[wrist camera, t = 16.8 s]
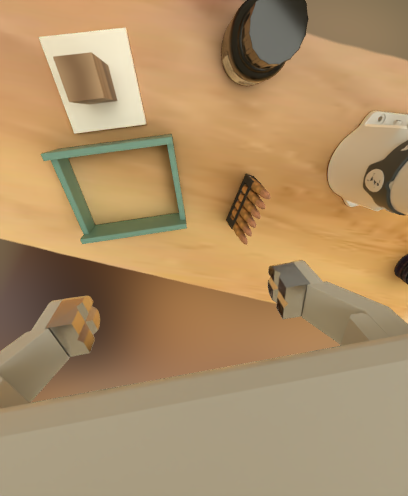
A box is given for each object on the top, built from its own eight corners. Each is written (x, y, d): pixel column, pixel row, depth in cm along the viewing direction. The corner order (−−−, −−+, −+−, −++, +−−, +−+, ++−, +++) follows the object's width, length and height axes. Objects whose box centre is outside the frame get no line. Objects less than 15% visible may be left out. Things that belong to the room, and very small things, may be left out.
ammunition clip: (233, 222, 50) (248, 249, 40) (225, 220, 50) (239, 247, 40) (253, 176, 45) (277, 194, 35) (245, 173, 45) (267, 190, 35)
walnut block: (108, 65, 33) (91, 52, 26) (117, 100, 35) (104, 97, 29) (77, 68, 33) (52, 56, 26) (89, 104, 35) (69, 102, 28)
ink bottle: (214, 82, 37) (231, 70, 26) (221, 7, 32) (243, -42, 22) (270, 89, 38) (306, 80, 28) (284, 18, 34) (332, -24, 23)
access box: (171, 133, 40) (171, 136, 35) (185, 216, 48) (186, 228, 43) (58, 148, 39) (40, 154, 34) (92, 230, 47) (82, 244, 42)
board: (126, 29, 32) (125, 27, 31) (146, 124, 38) (146, 124, 38) (42, 39, 32) (38, 36, 31) (76, 133, 38) (74, 133, 37)
